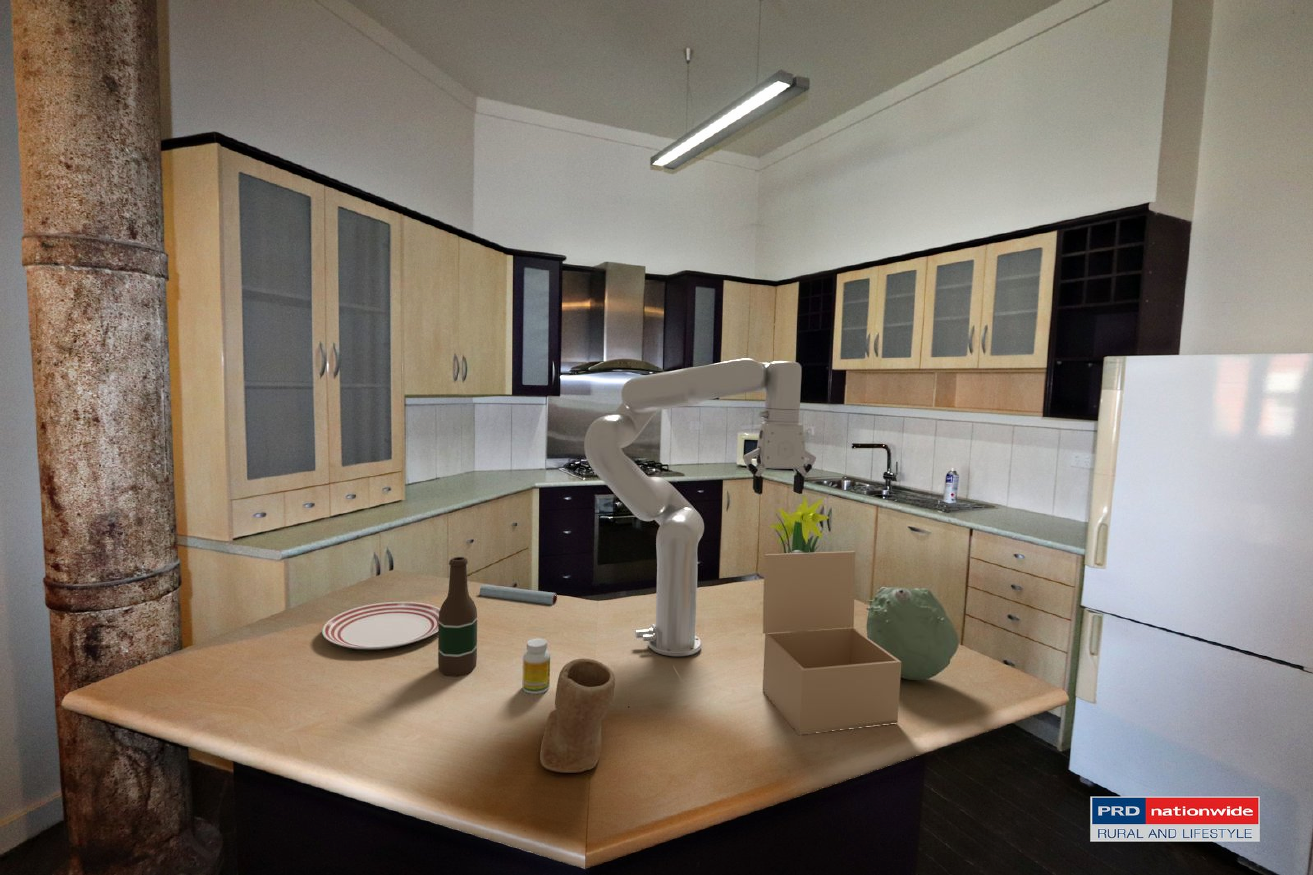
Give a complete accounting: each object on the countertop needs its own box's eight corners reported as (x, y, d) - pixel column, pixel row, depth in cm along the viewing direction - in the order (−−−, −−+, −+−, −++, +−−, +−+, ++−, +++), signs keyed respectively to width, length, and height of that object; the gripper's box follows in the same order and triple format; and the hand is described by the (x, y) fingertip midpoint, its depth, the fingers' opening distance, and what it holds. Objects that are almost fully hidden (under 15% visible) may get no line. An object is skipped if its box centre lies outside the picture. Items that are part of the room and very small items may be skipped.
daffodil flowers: (764, 606, 170) (770, 485, 167) (816, 609, 169) (823, 487, 166) (770, 629, 153) (777, 495, 150) (829, 633, 152) (836, 498, 149)
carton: (799, 735, 106) (802, 670, 105) (762, 690, 121) (765, 633, 120) (897, 724, 110) (901, 661, 109) (850, 682, 126) (853, 627, 125)
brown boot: (611, 780, 92) (613, 686, 91) (534, 779, 92) (535, 685, 90) (614, 725, 107) (617, 644, 106) (548, 724, 107) (550, 643, 105)
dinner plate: (467, 618, 154) (467, 606, 154) (405, 665, 127) (405, 650, 127) (372, 608, 159) (372, 596, 159) (293, 652, 132) (293, 637, 132)
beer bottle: (484, 666, 128) (485, 556, 126) (458, 681, 121) (459, 566, 119) (456, 658, 131) (457, 551, 129) (429, 672, 124) (430, 560, 122)
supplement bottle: (519, 684, 120) (520, 638, 120) (545, 679, 123) (546, 634, 122) (526, 697, 116) (526, 649, 115) (552, 692, 118) (553, 645, 117)
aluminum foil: (557, 603, 168) (557, 591, 168) (547, 611, 161) (548, 599, 161) (484, 594, 173) (485, 583, 173) (472, 602, 167) (472, 590, 166)
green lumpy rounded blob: (971, 693, 123) (978, 599, 121) (883, 695, 121) (890, 599, 119) (929, 659, 138) (935, 575, 137) (851, 660, 136) (856, 575, 135)
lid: (765, 554, 120) (750, 547, 128) (763, 633, 120) (748, 621, 128) (855, 551, 125) (835, 544, 133) (853, 627, 125) (834, 616, 133)
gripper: (752, 417, 127) (748, 496, 128) (825, 419, 131) (821, 495, 132) (739, 415, 134) (735, 490, 135) (809, 417, 138) (805, 490, 139)
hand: (778, 493), depth 134 cm, fingers open, 9 cm apart
